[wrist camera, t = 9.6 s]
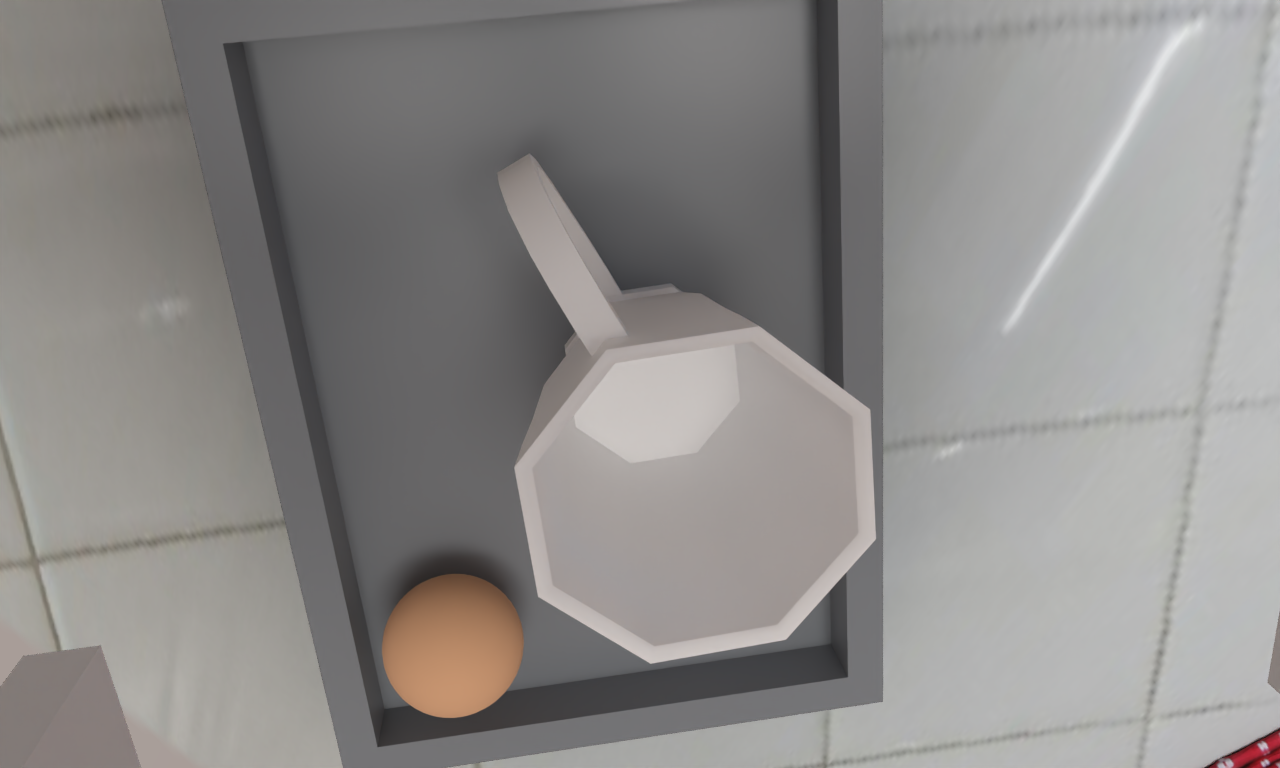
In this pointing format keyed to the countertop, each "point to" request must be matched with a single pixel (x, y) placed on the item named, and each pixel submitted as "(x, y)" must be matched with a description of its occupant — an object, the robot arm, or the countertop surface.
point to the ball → (452, 645)
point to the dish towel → (1255, 755)
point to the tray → (526, 305)
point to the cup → (680, 459)
